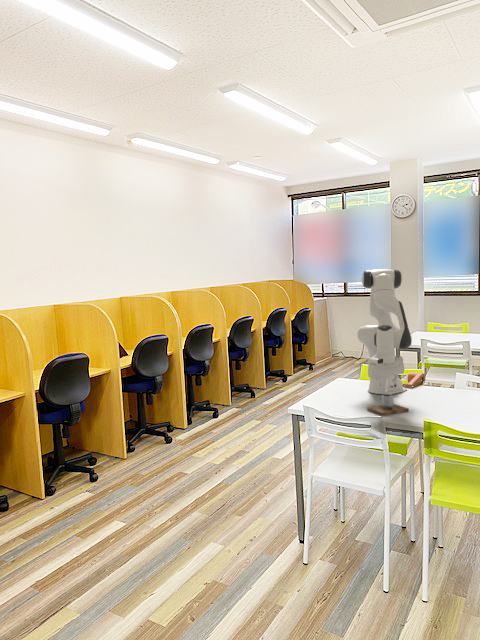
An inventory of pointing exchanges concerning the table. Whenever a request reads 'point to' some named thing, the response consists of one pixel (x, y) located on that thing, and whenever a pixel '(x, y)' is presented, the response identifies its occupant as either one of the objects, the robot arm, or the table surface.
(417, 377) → the crank
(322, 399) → the table surface
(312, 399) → the table surface
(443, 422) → the table surface
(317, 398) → the table surface
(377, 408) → the stand
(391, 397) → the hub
